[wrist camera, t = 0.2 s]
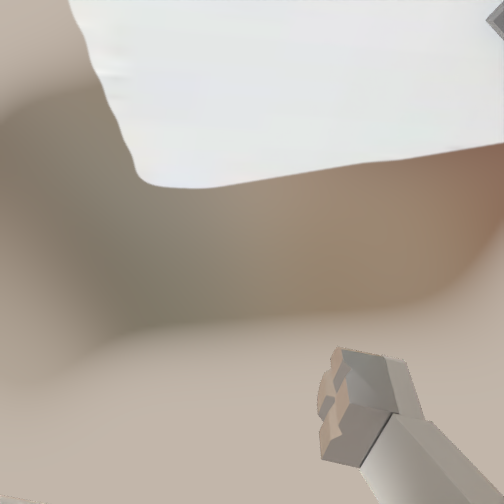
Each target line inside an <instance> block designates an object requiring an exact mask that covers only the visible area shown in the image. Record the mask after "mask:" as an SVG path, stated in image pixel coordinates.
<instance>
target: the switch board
mask: <svg viewBox="0 0 504 504" xmlns="http://www.w3.org/2000/svg"><path fill="white" fill-rule="evenodd" d="M486 21H487V22H488V24H489V25H490V26H491V27H492V28H493V29H494V30H495V31H496V32H497V33H498V34H499V36H500V37H501V38H502V39H503V40H504V1H503V2H502V3H501V4H500V5H499V6H498V7H497V9H496V10H495V11H494V12H493V13H492V14H491V15H490V16H489V17H488V18H487V19H486Z"/></svg>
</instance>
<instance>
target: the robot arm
mask: <svg viewBox="0 0 504 504" xmlns="http://www.w3.org/2000/svg"><path fill="white" fill-rule="evenodd" d="M330 360H331V369H330V370H328V371H326V372H325V373H324V375H323V377H322V380H321V382H320V387H319V391H318V399H317V409H318V415H319V417H320V418H321V419H322V421H323V424H322V427H321V429H320V431H319V438H320V449H321V459H322V460H326V461H330V462H335V463H339V464H343V465H348V466H352V467H357V468H360V470H359V471H360V472H361V474H362V476H363V477H364V479H365V480H366V482H367V484H368V485H369V487H370V489H371V490H372V492H373V494H374V495H375V497H376V498H377V500H378V502H379V503H380V504H504V496H503V495H502V494H501V493H500V492H499V491H498V490H497V489H496V488H495V487H494V486H493V484H492V483H491V482H490V481H489V480H488V479H487V478H486V477H485V476H484V475H483V474H482V473H481V472H480V471H479V470H478V469H477V468H476V467H475V466H474V465H473V464H472V463H471V462H470V461H469V459H468V458H467V457H466V456H465V455H464V454H463V453H462V452H461V451H460V450H459V449H458V448H457V447H456V446H455V445H454V444H453V443H452V442H451V441H450V440H449V439H448V438H447V437H446V436H445V435H444V433H442V432H441V431H440V429H439V428H438V427H437V426H436V425H435V424H434V423H433V422H432V421H427V420H425V418H424V415H423V412H422V408H421V405H420V402H419V399H418V396H417V393H416V390H415V387H414V384H413V382H412V378H411V375H410V372H409V369H408V366H407V363H406V362H405V361H404V360H403V359H399V358H393V357H389V356H383V355H381V356H380V355H376V354H372V353H367V352H362V351H357V350H352V349H347V348H343V347H337V348H336V349H335V350H334V352H333V354H332V356H331V359H330ZM0 504H47V503H42V502H36V501H31V500H25V499H20V498H15V497H9V496H3V495H0Z"/></svg>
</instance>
